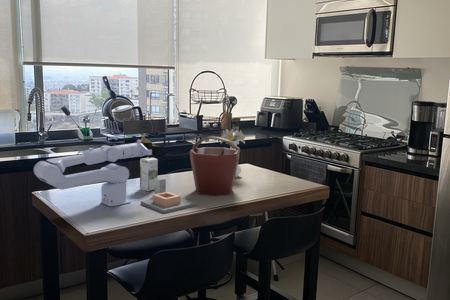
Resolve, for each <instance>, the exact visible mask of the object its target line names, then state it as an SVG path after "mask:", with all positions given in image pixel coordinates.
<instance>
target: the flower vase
mask: <svg viewBox="0 0 450 300" xmlns="http://www.w3.org/2000/svg"><path fill="white" fill-rule="evenodd" d="M222 130H223V129H222ZM222 133H223V134H221V137H220V138H224V139H227V140H230V141H232V142H233V143H234V144H235V145H236V146H238V145H239V144H240V142H242V143H243V144H246V142H245V139H246V135H245V134H244V133H243V132H242V129H240V130H238V129H236V130H235V131H234V129H233V128H232V129H231V130H229V129H227V128H226V129H225V130H223V131H222ZM220 141H221V140H220ZM220 144H223V141H221V142H220ZM225 144H227V145H229V144H228V143H226V142H225ZM229 146H230V145H229ZM229 149H234V148H232V147H231V146H230V147H229ZM234 150H237V149H234ZM242 171H243V170H242V167H241V166H240V165H239V164H238V166H237V170H236V175H235V178H238V177H239V175H241V173H242Z"/></svg>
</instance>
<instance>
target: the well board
mask: <svg viewBox="0 0 450 300" xmlns="http://www.w3.org/2000/svg"><path fill="white" fill-rule="evenodd" d="M140 205H142V206H145V207H147V208H149V209H152V210H154V211H157V212H160V213H163V214H168V213H170V212H175V211H181V210H184V209H188V208H193V207H197V202H196V201H195V202H194V201H193V200H189V199H186V198H183V197H181V195H178V194H175V193H174V192H169V191H166V192H164V193H159V194H155V193H154V194H152V198H151V199H145V200H141V201H140Z"/></svg>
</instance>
